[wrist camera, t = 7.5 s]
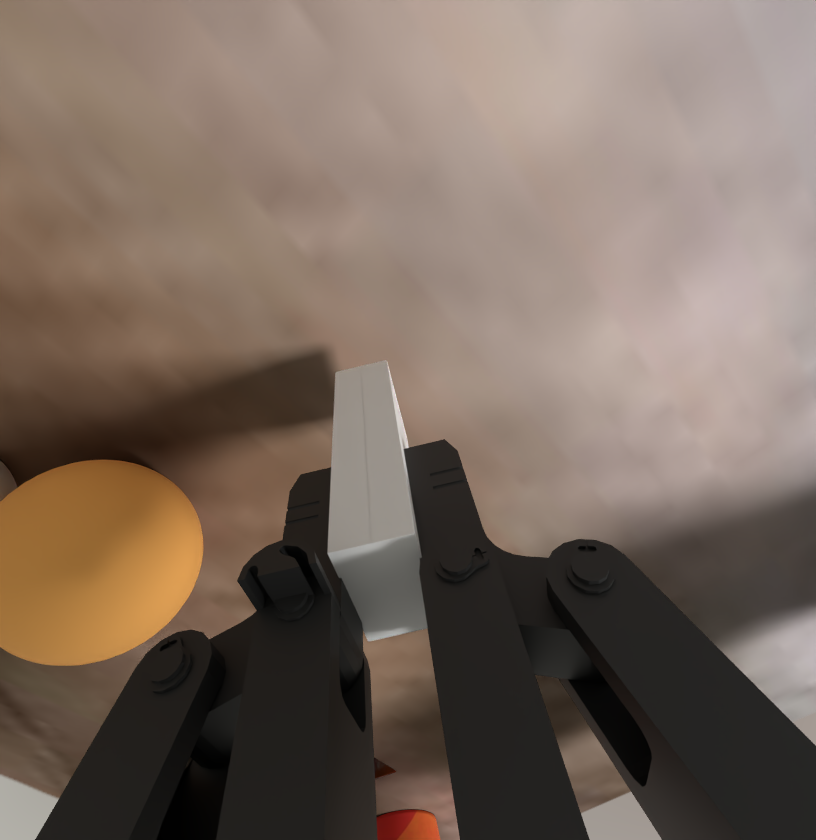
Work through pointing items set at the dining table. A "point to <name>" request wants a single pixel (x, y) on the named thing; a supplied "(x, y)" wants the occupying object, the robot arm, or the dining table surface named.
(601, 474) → the dining table surface
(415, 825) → the coffee cup
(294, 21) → the dining table surface
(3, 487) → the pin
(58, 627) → the ball
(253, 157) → the dining table surface
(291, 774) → the robot arm
